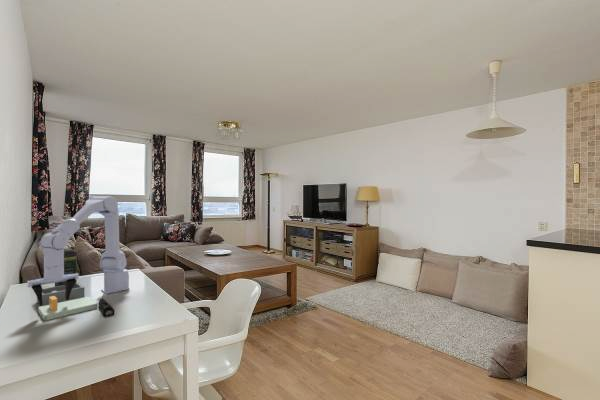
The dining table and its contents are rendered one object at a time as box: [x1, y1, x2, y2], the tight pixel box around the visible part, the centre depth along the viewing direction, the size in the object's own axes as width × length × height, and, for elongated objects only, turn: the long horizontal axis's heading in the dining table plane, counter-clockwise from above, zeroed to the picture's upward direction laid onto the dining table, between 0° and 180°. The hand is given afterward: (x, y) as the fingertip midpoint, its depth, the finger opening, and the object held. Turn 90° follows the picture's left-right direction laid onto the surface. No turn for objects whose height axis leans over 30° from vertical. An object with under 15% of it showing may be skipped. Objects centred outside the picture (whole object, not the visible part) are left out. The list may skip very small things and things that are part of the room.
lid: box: [37, 296, 98, 322], centre depth 114 cm, size 16×12×6 cm
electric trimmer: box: [98, 297, 116, 318], centre depth 114 cm, size 4×16×3 cm, turn 42°
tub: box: [36, 282, 85, 307], centre depth 124 cm, size 14×10×5 cm
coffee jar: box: [54, 247, 78, 287], centre depth 140 cm, size 10×8×19 cm
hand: (54, 302), depth 111 cm, fingers open, 7 cm apart
